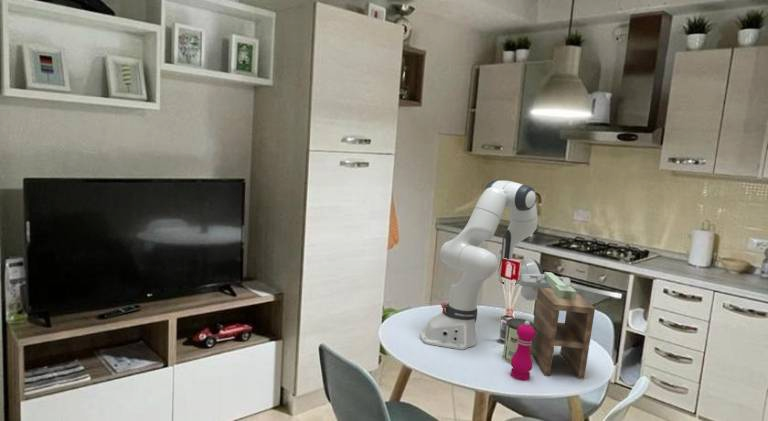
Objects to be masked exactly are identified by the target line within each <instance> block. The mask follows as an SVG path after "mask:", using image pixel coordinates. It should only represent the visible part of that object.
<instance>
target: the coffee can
mask: <svg viewBox="0 0 768 421" xmlns="http://www.w3.org/2000/svg"><path fill="white" fill-rule="evenodd" d="M525 321H529V322H530V326H531V327H533V329H534V330H535V324H534V323H533V321H530V320H526V319H523V318H509V319H507V320H506V325H505V326H506V328H505V337H504V342H503V343H504V344H503V352H502V358H503V360H504V361H506V362H508V363H510V364H511V360H512V357H513V355H514V354H515V352H516V351H517V348H518V342H517V340H518V339H517V338H518V337H519V336H518V335H517V329H518V327H519V326H520V325H523V324H524V323H525ZM532 344H533V339H532ZM531 352H532V345H531V346H530V356H531V357H532V355H531Z"/></svg>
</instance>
